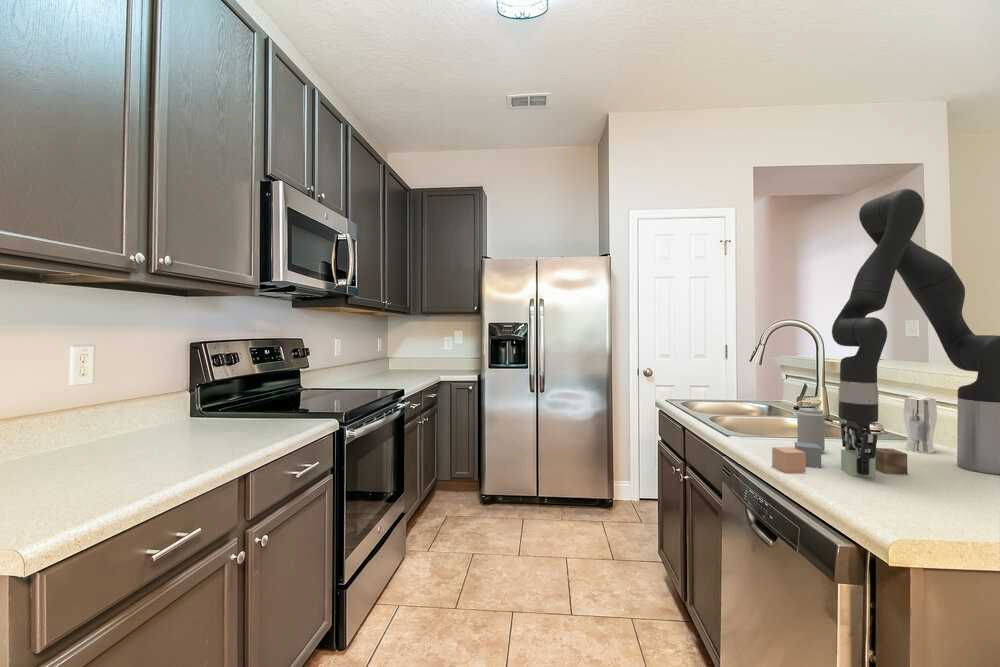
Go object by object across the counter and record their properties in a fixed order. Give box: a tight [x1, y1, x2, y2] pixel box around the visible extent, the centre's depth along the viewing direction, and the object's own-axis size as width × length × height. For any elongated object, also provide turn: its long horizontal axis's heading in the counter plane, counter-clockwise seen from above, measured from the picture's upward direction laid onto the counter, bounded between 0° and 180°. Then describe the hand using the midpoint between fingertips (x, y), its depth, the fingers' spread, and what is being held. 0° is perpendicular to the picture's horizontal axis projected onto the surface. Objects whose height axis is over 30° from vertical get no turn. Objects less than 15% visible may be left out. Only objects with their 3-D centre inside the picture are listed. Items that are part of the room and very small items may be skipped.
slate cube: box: [794, 441, 822, 469], centre depth 116 cm, size 5×5×5 cm
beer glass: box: [903, 396, 938, 454], centre depth 129 cm, size 7×7×15 cm
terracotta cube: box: [771, 446, 807, 474], centre depth 111 cm, size 5×5×5 cm
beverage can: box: [796, 407, 826, 454], centre depth 128 cm, size 6×6×12 cm
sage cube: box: [840, 448, 876, 479], centre depth 108 cm, size 5×5×5 cm
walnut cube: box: [870, 447, 908, 475], centre depth 110 cm, size 5×5×5 cm
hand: (857, 470), depth 108 cm, fingers closed on sage cube, 5 cm apart
